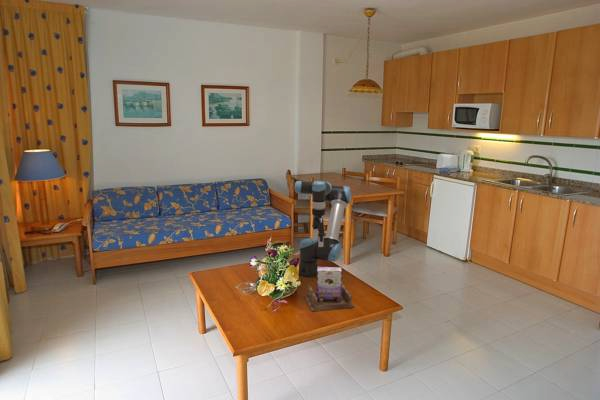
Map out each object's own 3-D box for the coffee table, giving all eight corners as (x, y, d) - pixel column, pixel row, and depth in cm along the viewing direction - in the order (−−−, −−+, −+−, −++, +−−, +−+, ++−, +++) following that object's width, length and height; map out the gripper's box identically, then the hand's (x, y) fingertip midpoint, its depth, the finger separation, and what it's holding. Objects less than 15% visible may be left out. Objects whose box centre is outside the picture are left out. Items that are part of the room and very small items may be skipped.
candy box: (341, 294, 227) (341, 266, 223) (341, 298, 221) (342, 270, 218) (316, 293, 228) (317, 266, 224) (316, 297, 222) (316, 270, 219)
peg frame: (304, 296, 231) (304, 285, 230) (344, 293, 236) (344, 282, 234) (311, 311, 214) (311, 299, 213) (354, 307, 219) (354, 295, 217)
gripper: (307, 203, 244) (307, 237, 248) (317, 213, 220) (316, 250, 224) (319, 203, 245) (319, 236, 249) (330, 213, 221) (329, 249, 226)
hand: (318, 243), depth 237 cm, fingers open, 13 cm apart
